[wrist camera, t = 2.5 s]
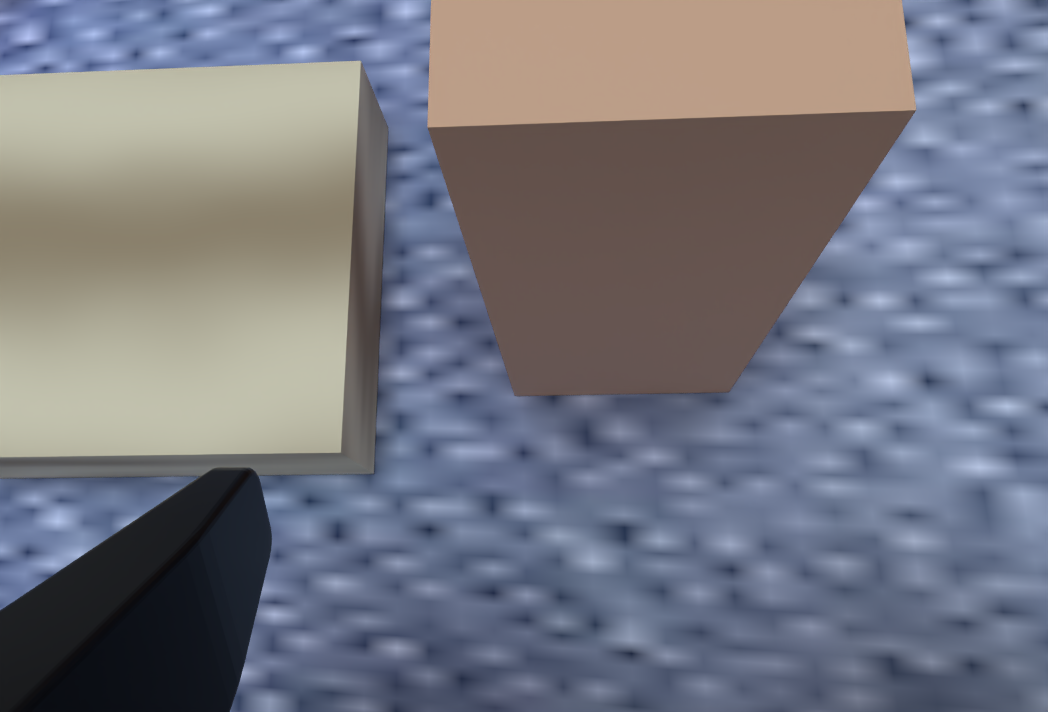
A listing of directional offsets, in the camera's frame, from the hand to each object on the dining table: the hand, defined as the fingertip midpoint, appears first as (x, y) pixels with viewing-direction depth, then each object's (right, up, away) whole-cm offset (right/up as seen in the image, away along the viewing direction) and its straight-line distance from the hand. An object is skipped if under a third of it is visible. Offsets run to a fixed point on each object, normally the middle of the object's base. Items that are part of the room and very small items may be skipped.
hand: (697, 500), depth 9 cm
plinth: (-10, +3, +14) cm, 17 cm away
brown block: (+1, +3, +13) cm, 13 cm away
